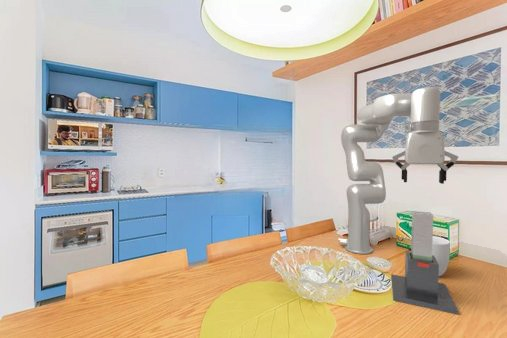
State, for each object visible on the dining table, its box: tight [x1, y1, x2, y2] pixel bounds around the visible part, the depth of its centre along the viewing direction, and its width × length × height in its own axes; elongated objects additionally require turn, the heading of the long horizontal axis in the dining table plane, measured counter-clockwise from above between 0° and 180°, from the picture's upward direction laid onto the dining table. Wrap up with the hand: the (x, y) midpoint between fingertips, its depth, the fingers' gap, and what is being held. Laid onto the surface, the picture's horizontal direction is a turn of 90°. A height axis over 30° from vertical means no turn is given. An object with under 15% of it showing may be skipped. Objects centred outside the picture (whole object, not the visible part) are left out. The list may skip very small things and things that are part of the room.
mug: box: [432, 235, 451, 278], centre depth 96 cm, size 15×11×13 cm
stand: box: [390, 251, 459, 315], centre depth 82 cm, size 16×16×12 cm
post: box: [410, 210, 434, 262], centre depth 81 cm, size 5×5×20 cm
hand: (422, 182), depth 81 cm, fingers open, 9 cm apart
